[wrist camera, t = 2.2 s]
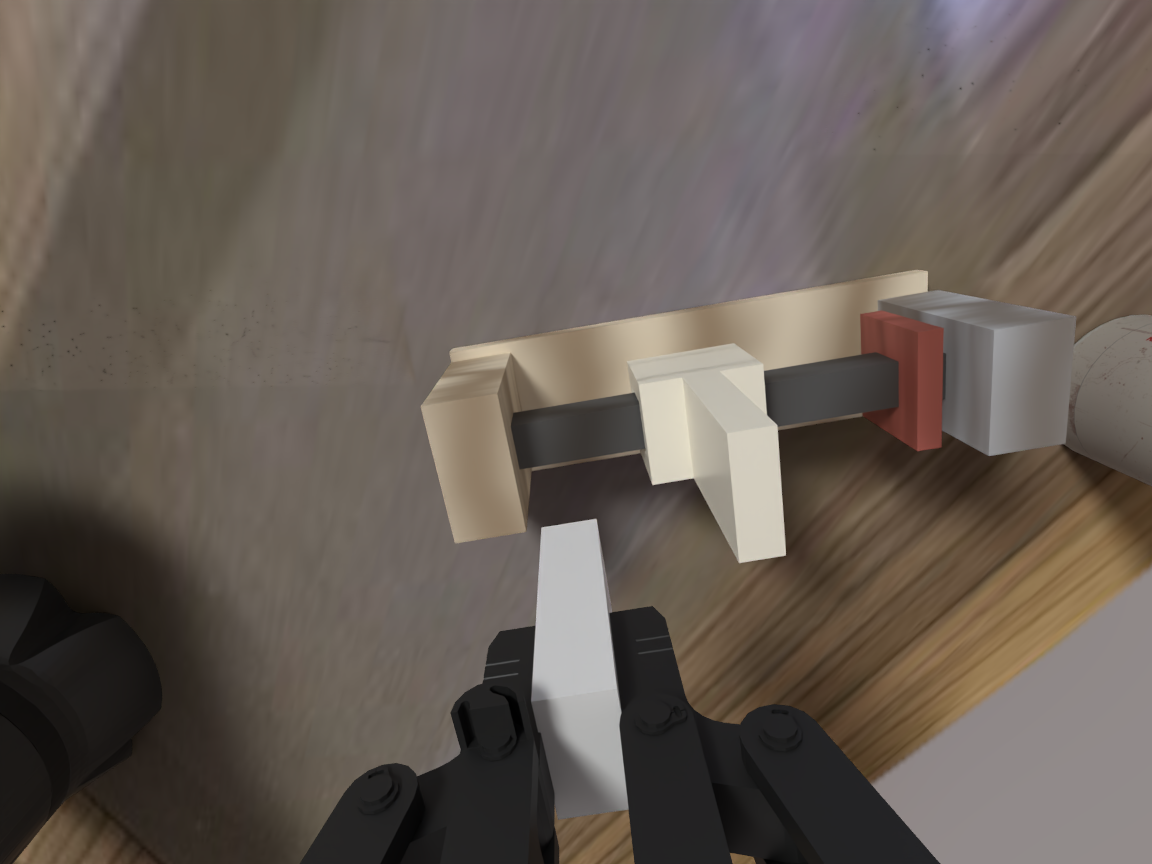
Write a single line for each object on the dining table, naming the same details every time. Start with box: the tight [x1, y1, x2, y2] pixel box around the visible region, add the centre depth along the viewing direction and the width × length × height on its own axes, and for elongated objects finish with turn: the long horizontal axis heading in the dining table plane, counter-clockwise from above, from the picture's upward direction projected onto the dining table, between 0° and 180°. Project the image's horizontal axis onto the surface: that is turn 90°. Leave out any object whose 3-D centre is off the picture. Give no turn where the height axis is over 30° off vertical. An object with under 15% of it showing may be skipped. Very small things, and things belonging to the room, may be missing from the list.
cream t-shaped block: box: [627, 343, 786, 563], centre depth 25 cm, size 5×4×11 cm
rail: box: [421, 270, 1076, 543], centre depth 29 cm, size 24×7×10 cm, turn 99°
